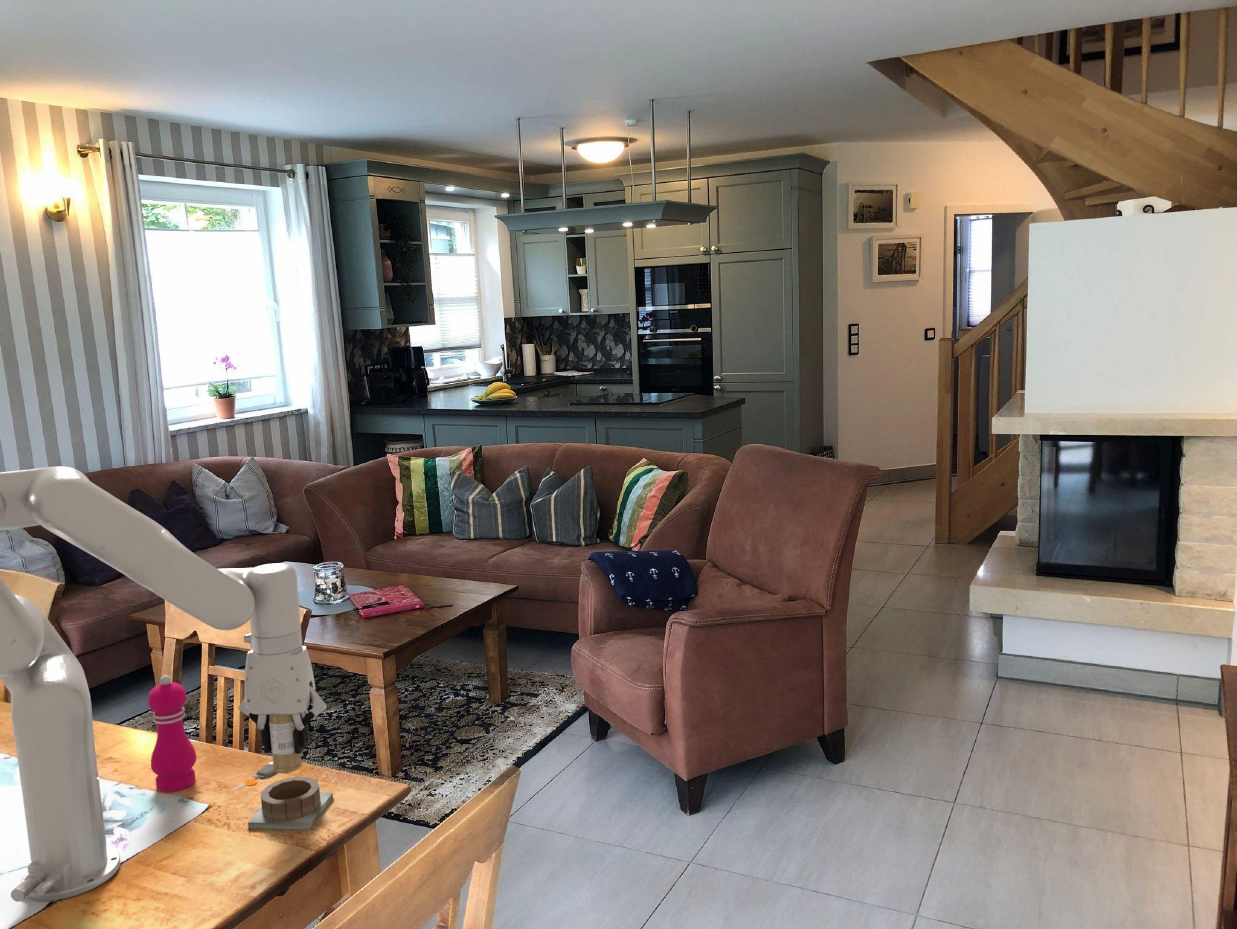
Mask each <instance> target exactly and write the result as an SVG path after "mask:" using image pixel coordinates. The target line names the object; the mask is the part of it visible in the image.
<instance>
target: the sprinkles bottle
mask: <svg viewBox="0 0 1237 929" xmlns="http://www.w3.org/2000/svg"><path fill="white" fill-rule="evenodd" d="M269 725H270V737H271V749H272V751H271V753H272V761H273V770H274V771H275V772H277V773H276V774H289V773H293V772H296V771H297V770H299V769H300V768H301V767H302V765H303V764H302V762H303V761H302V758H301V753H300V754H296V753H295V750H294V737H293V731H294V730H295V729H296V725H295V722H294V719H293V716H292V715H269Z"/></svg>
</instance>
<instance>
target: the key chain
mask: <svg viewBox="0 0 1237 929" xmlns="http://www.w3.org/2000/svg"><path fill="white" fill-rule="evenodd" d="M276 774H278V773H277V772H275V771H274V770H273V760H272V761H269V762H268V763H267V764H266V765H264V767H262V768H260V769H258V770H257V771H256V774H252V775H250V776H249V777H248V778H249V779H246V780H245V781H244V783H242V784H241V785H239V786H237V787H234V788H231V791H232V790H233V791H235V790H239V789H241V788H243V787H246V786H247V787H252V786H255V785H256V784H257V782H258V781H260V780H263V779H266V778H270V777H272V776H274V775H276ZM252 777H255V778H256V779H255V778H252ZM257 780H258V781H257Z"/></svg>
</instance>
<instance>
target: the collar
mask: <svg viewBox="0 0 1237 929" xmlns="http://www.w3.org/2000/svg"><path fill="white" fill-rule="evenodd" d="M333 799H334V793H333V792H327V791H326V792H323V791H321V792H320V785H319V782H318V781H317V779H314V778H312V777H308V776H294V777H288V778H284V779H280V780H277V781H275V782H272V783H270V784H268V785H267V786H266V787H264V789H263V790H262V791H261V792H260V801H261V802H260V803H261V804H260V805H261V807H260V808H259V809H258V811H257V812H256V813H255V814H254V815H253V816H252V817H251V819H249V821H248V822H247V827H248V829H256V830H257V829H260V830H261V829H262V830H264V829H266V830H269V829H270V830H311V828H312V826H313V825H314V823H315V822H316V821H317V820H318V819H319V817H320V816H321V815H322V814H323V812H324V811H325V810H326V808H327V807H328V805H329V804H330V803H331V802H330V801H332V800H333ZM310 827H311V828H310Z"/></svg>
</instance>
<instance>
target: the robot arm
mask: <svg viewBox="0 0 1237 929" xmlns="http://www.w3.org/2000/svg"><path fill="white" fill-rule="evenodd" d="M35 526H36V527H37V526H41V527H43V529H45V530H47V531H48V532H51V533H53V534H54V535H56V536H58V537H59V538H61V539H63V540H65V541H66V542H68V543H70V544H71V545H73V546H75V547H77V548H79V549H80V550H82V551H84V552H86V553H87V554H89V555H91V556H92V557H94V558H96V559H98V560H99V561H101V562H103V563H105V564H106V565H108V566H109V567H111V568H113V569H115V570H116V571H118V572H119V573H122V574H123V575H124V576H126V577H127V578H128V579H130V580H131V581H133V582H135V583H136V584H137V585H140V586H141V587H143V588H146V589H147V590H149V591H150V592H152V593H153V594H155V595H157V596H158V597H160V598H162V599H163V600H165V601H166V602H168V603H169V604H171V605H172V606H174V607H175V608H177V609H179V610H180V611H182V612H184V613H186V614H187V615H189V616H191V617H193V618H195V619H197V620H198V621H200V622H202V623H204V624H205V625H206V626H209V627H211V628H213V629H216V630H219V631H233V630H237V629H239V628H241V627H243V626H244V625H246V624H247V623H248V622H249V626H250V633H248V634H244V636H243V643H244V644H250V648H251V650H249V651H248V652H247V653H246V661H245V668H244V670H245V671H244V697H243V699H242V700H241V702H240V703H239V705H238V711H240V712H241V713H243V714H244V715H246V716H248V718H249V719H250V720H251V721H252V722H253V723H254V724H255V725H256V728H257V729H258V730H259V731H260V736H261V738H260V739H261V745H262V746H263V752H264V754H270V753H272V749H271V737H270V725H269V715H292V716H293V719H294V722H295V725H296V729H295V730H294V731H293V737H294V750H295V753H296V754H300V755H301V753H302V752H303V751H304V749H305V748H306V747H307V746H308V745H309V734H308V733H309V731H308V730H309V729H308V724H309V723H310V722H311V721H312V720H313V719H314V718H315V717H317V716H318V715H320V714H321V713H322V712H324V710H326V709H327V704H326V702H325V701H324V700H323V699H322V697H321V696H320V695H319V694H318V692H317V691H316V684H315V678H314V672H313V667H312V662H311V658H310V655H309V651H308V649H307V646H306V645H303V638H302V625H301V624H302V622H301V610H300V598H299V597H300V596H299V587H298V573H297V571H296V569H295V567H294V566H292V565H291V564H288V563H283V562H278V563H277V562H276V563H266V564H262V565H257V566H254V567H245V568H244V567H243V568H235V567H234V568H233V567H231V568H227V567H226V568H225V567H224V568H222V567H221V568H216V567H215V566H213V565H212V564H211V563H209V562H208V561H205V560H204V559H203V558H201V557H200V556H198V555H197V554H195V553H194V552H192V551H191V550H190V549H189V548H187V547H186V546H185V545H184V544H182V543H181V542H180V541H179V540H178V539H177V538H176V537H175V536H174V535H173V534H171V533H170V531H169V530H168V529H166V528H165V527H163V526H162V525H161V524H159V523H158V522H156V521H155V520H153V519H152V518H150V517H149V516H147V515H145V514H144V513H143V512H140V511H138V510H137V509H135V508H134V507H132V506H131V505H129V504H127V503H126V502H123V501H122V500H121V499H119V498H117V497H115V496H114V495H113V494H111V493H110V492H108V491H106V490H104V489H103V488H101V487H100V486H98V485H97V484H95V483H93V482H92V481H90V479H89V478H88V477H87V476H86V475H85V474H84V473H83V472H81V471H80V470H78V469H76V468H73V467H70V466H62V465H61V466H59V465H58V466H47V467H39V468H31V469H22V470H20V469H19V470H13V471H2V472H0V531H4V530H5V531H6V530H13V529H21V528H28V527H29V528H30V527H35ZM0 681H1V682H2V684H3V685H4V686H5V688H6V689H7V690H8V691H9V693H10V717H11V718H10V719H11V725H12V726H11V727H12V733H13V739H14V743H15V744H14V745H15V749H16V756H17V758H16V759H17V764H18V772H19V773H18V774H19V779H20V786H21V792H22V800H23V808H24V817H25V825H26V830H27V842H28V849H29V855H30V861H31V862H30V863H29V864H28V865H27V872H26V873H25V874H24V875H23V877H22V878H21V882H20V884H19V885H17V886H16V887H15V888H14V889H13V890H11V892H10V897H11V899H12V901H15V902H16V903H18V902H22V901H24V900H25V899H26V898H29V899H31V900H35V901H55V900H56V901H59V900H63V899H67V898H72V897H74V896H78V895H81V894H83V893H86V892H89V891H91V890H93V889H95V888H97V887H99V886H100V885H103V884H104V883H105V882H106V881H108V880H110V879H111V878H112V877H113V876H114V875H115V874H116V873H117V871H118V870H119V868H120V866H121V856H120V853H119V852H118V850H116V849H115V848H113V847H109V846H107V837H106V830H105V829H106V828H105V821H104V812H103V811H104V810H103V805H102V804H103V803H102V796H101V795H102V794H101V786H100V779H99V778H100V776H99V769H98V768H99V767H98V763H97V754H96V746H95V745H96V744H95V734H94V723H93V721H94V719H93V708H92V701H91V699H92V698H91V694H90V690H89V685H88V682H87V678H86V673H85V671H84V669H83V666H82V664H81V663H80V662H79V659H77V657H76V656H75V654H74V653H73V652H72V650H71V649H70V648H69V646H68V645H67V643H66V642H65V641H64V639H63V638H62V637H61V635H60V634H59V632H57V630H56V628H55V627H54V626H53V625H52V623H51V622H50V620H49V619H48V618H47V616H46V615H45V614H44V613H43V611H42V610H41V609H40V608H39V606H37V604H36V603H34V602H33V601H32V600H30V599H29V598H28V597H27V598H26V597H24V596H21V595H19V594H15V593H13V591H12V590H11V588H10V587H9V586H8V585H7V583H6V582H5V580H4V579H3V577H2V576H1V574H0ZM309 705H312V707H313V708H311V709H310V710H309V711H308V708H309Z"/></svg>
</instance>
